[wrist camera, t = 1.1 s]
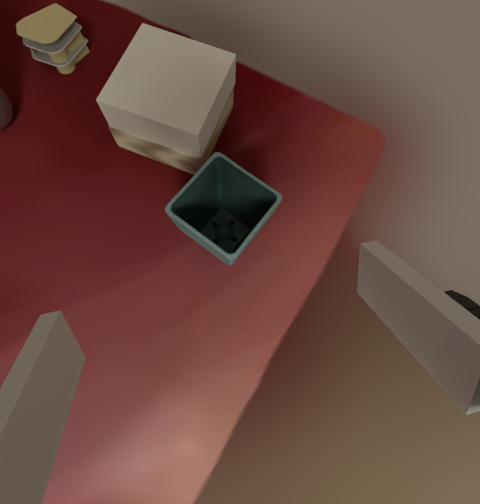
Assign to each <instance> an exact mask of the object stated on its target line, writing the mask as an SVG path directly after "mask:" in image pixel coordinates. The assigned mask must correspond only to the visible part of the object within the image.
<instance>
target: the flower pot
mask: <svg viewBox="0 0 480 504" xmlns="http://www.w3.org/2000/svg"><path fill="white" fill-rule="evenodd" d="M281 200H282V195H281V194H280V193H279V192H277V191H276V190H274V189H273V188H271V187H270V186H268V185H267V184H265V183H264V182H262V181H261V180H259V179H258V178H256V177H255V176H253V175H252V174H251V173H249V172H247V171H246V170H245V169H243V168H242V167H240V166H239V165H238V164H236V163H235V162H233V161H232V160H230V159H229V158H228V157H227V156H225V155H224V154H222V153H220V152H215V153H214V154H213V155H212V156H211V157H210V158H209V159H208V160H207V162H206V163H205V164H204V165H203V166H202V167H201V168H200V169H199V170H198V171H197V173H196V174H195V175H194V176H193V177H192V178H191V179H190V180H189V181H188V182H187V183H186V185H185V186H184V187H183V188H182V189H181V190H180V191H179V192H178V193H177V194H176V195H175V196H174V197H173V198H172V200H171V201H170V202H169V203H168V204H167V205H166V207H165V211H166V213H167V214H168V215H169V217H170V218H171V219H172V221H173V222H174V223H175V224H176V226H177V227H178V228H179V229H180V230H181V231H183V232H184V233H185V234H187V235H188V236H189V237H191V238H192V239H194V240H195V241H196V242H198V243H199V244H200V245H202V246H203V247H204V248H206V249H207V250H208V251H210V252H211V253H212V254H214V255H215V256H216V257H218V258H219V259H220V260H221V261H223V262H224V263H225V264H227V265H232V264H233V263H234V262H235V261H236V260H237V258H238V257H239V256H240V254H241V253H242V252H243V251H244V249H245V248H246V247H247V245H248V244H249V243H250V242H251V240H252V239H253V238H254V237H255V235H256V234H257V233H258V232H259V230H260V229H261V228H262V227H263V225H264V224H265V223H266V222H267V221H268V219H269V218H270V217H271V215H272V214H273V212H274V211H275V209H276V208H277V206H278V205H279V203H280V202H281ZM231 221H233V222H234V224H233V225H231V224H230V222H231ZM214 223H215V224H216V227H213V226H212V225H213V224H214ZM233 238H236V241H235V242H234V241H233V240H232V239H233ZM215 240H218V241H219V242H218V243H217V244H215V243H214V241H215Z"/></svg>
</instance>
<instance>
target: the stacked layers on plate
mask: <svg viewBox="0 0 480 504" xmlns="http://www.w3.org/2000/svg"><path fill="white" fill-rule="evenodd" d="M76 18H77V16H76V15H74V14H72V13H71V12H69V11H68V10H66V9H64V8H63V7H61V6H60V5H58V4H57V3H55V4H52V5H50V6H48V7H46V8H44V9H42V10H40V11H37V12H35V13H33V14H31V15H29V16H27V17H25V18H23V19H22V20H21V21H19V22H18V23H17V24H16V29H17V35H19V36H22V38H23V44H24V45H25V46H27V47H30V49H31V52H32V57H33V58H34V59H35V60H38V61H41V62H44V63H47V64H50V65H53V66H56V68H57V69H58V71H59V72H60V73H62V74H69V73H71V72H73V71H74V69H75V64H76V63H77V62H78V61H80V60H81V59H82V58H83V57H84V56H85V55H86V54H87V53H89V52H90V51H89V49H88V47H87V45H86V44H87V42H88V40H87V39H86V38H85V37H83V36H82V34H81V32H80V30H81V29H82V27H81V25H79V24H78V23H76V22H75V21H74V20H75V19H76Z"/></svg>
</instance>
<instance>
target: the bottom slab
mask: <svg viewBox="0 0 480 504" xmlns="http://www.w3.org/2000/svg"><path fill="white" fill-rule="evenodd" d="M233 94H234V87H233V89H232V92H231V94H230V96H229V98H228V100H227V103H226V105H225V107H224V109H223V111H222V113H221V116H220V118H219V120H218V122H217V124H216V127H215V129H214V131H213V133H212V135H211V138H210V140H209V142H208V144H207V146H206V148H205V151H204V153H203V155H202V157H201V158H198V157H195V156H192V155H189V154H186V153H184V152H181V151H178V150H175V149H172V148H169V147H166V146H164V145H161V144H158V143H155V142H152V141H149V140H146V139H144V138H141V137H138V136H135V135H132V134H129V133H127V132H124V131H121V130H118V129H115V128H112V127H110V126H109V124H108V128H109V129H110V131H111V133H112V135H113V137H114V139H115V141H116V142H117V144H118V146H120V147H122V148H125V149H128V150H130V151H133V152H135V153H138V154H141V155H143V156H146V157H149V158H151V159H154V160H157V161H159V162H162V163H165V164H167V165H170V166H173V167H175V168H178V169H180V170H183V171H186V172H188V173H191V174H194V175H195V174H196V173H197V171H198V170H199V169H200V168H201V167H202V166H203V165H204V164H205V163H206V162H207V160H208V159H209V157H210V155H211V153H212V151H213V149H214V147H215V144H216V142H217V140H218V138H219V136H220V134H221V132H222V130H223V128H224V126H225V124H226V121H227V119H228V117H229V115H230V113H231V111H232V109H233Z"/></svg>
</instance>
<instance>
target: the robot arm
mask: <svg viewBox="0 0 480 504" xmlns="http://www.w3.org/2000/svg"><path fill="white" fill-rule="evenodd" d="M358 274H359V275H358V290H357V293H358V294H359V295H360V296H361V297H362V298H363V299H364V301H366V303H367V304H368V305H369V306H370V307H371V308H372V310H373V311H374V312H375V313H376V314H377V315H378V316H379V317H380V318H381V320H382V321H383V322H384V323H385V324H386V325H387V326H388V327H389V329H391V331H392V332H393V333H394V334H395V335H396V336H397V338H398V339H399V340H400V341H401V342H402V343H403V344H404V345H405V347H407V349H408V350H409V351H410V352H411V353H412V354H413V356H414V357H415V358H416V359H417V360H418V361H419V362H420V363H421V364H422V366H423V367H424V368H425V369H426V370H427V371H428V372H429V373H430V375H431V376H432V377H433V378H434V379H435V380H436V381H437V382H438V384H439V385H440V386H441V387H442V388H443V389H444V390H445V391H446V393H447V394H448V395H449V396H450V397H451V398H452V399H453V400H454V402H455V403H456V404H457V405H458V406H459V407H460V408H461V409H462V410H463V412H464V413H465V414H466V415H467V414H471V413H474V412H477V411H480V306H479V305H478V304H476V303H475V302H474V301H472V300H471V299H469V298H468V297H466V296H464V295H461V294H459V293H457V292H454V291H452V290H450V291H446V292H443V291H442V290H440V289H439V288H438V287H436V286H435V285H434V284H432V283H431V282H430V281H428V280H427V279H426V278H425V277H423V276H422V275H421V274H419V273H418V272H417V271H415V270H414V269H413V268H412V267H410V266H409V265H408V264H406V263H405V262H404V261H402V260H401V259H400V258H398V257H397V256H396V255H395V254H393V253H392V252H391V251H389V250H388V249H387V248H385V247H384V246H383V245H382V244H380V243H379V242H378V241H376V240H375V241H371V242H366V243H362V244H360V258H359V273H358ZM84 361H85V356H84V354H83V352H82V350H81V348H80V346H79V344H78V343H77V341H76V339H75V337H74V335H73V333H72V331H71V330H70V328H69V326H68V324H67V322H66V320H65V318H64V317H63V315H62V313H61V311H56V312H51V313H47V314H42V315H40V317H39V319H38V321H37V322H36V324H35V326H34V328H33V330H32V332H31V333H30V335H29V337H28V339H27V341H26V342H25V344H24V346H23V348H22V350H21V352H20V353H19V355H18V357H17V359H16V361H15V362H14V364H13V366H12V368H11V370H10V372H9V373H8V375H7V377H6V379H5V381H4V383H3V384H2V386H1V388H0V504H41V503H42V500H43V496H44V493H45V490H46V486H47V483H48V480H49V476H50V473H51V470H52V466H53V463H54V460H55V457H56V453H57V450H58V447H59V443H60V440H61V437H62V433H63V430H64V427H65V424H66V420H67V417H68V414H69V410H70V407H71V404H72V400H73V397H74V394H75V390H76V387H77V384H78V381H79V377H80V374H81V371H82V367H83V364H84Z"/></svg>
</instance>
